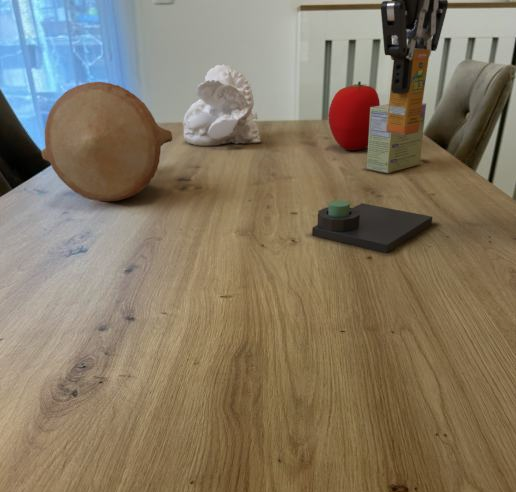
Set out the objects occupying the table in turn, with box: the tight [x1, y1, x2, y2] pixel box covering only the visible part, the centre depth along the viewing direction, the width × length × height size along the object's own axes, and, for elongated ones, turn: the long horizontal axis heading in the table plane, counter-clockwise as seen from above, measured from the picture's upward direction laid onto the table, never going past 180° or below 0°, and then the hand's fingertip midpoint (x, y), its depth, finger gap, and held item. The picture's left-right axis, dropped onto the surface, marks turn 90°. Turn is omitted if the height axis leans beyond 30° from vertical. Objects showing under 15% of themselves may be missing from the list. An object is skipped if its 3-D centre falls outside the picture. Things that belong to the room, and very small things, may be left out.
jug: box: [41, 81, 173, 202], centre depth 100 cm, size 20×19×30 cm
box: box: [366, 102, 427, 174], centre depth 109 cm, size 10×6×12 cm, turn 130°
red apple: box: [328, 81, 381, 151], centre depth 124 cm, size 13×11×14 cm
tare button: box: [328, 199, 351, 217], centre depth 79 cm, size 3×3×2 cm
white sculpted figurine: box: [181, 63, 262, 147], centre depth 136 cm, size 19×20×20 cm
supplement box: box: [386, 48, 430, 135], centre depth 72 cm, size 3×3×10 cm
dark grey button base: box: [311, 202, 433, 254], centre depth 80 cm, size 14×12×3 cm
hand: (407, 90), depth 72 cm, fingers closed on supplement box, 3 cm apart
